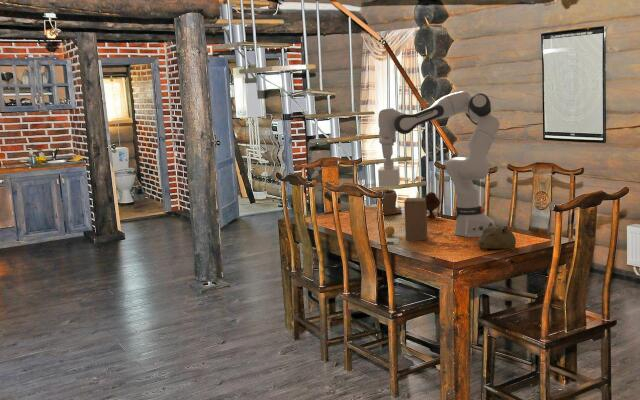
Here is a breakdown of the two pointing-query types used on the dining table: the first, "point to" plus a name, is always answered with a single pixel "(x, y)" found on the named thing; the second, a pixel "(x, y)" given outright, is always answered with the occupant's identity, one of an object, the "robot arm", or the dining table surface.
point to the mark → (393, 240)
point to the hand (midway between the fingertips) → (388, 165)
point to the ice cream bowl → (431, 203)
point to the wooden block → (415, 218)
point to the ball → (389, 230)
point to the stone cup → (390, 203)
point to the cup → (389, 175)
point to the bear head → (497, 238)
